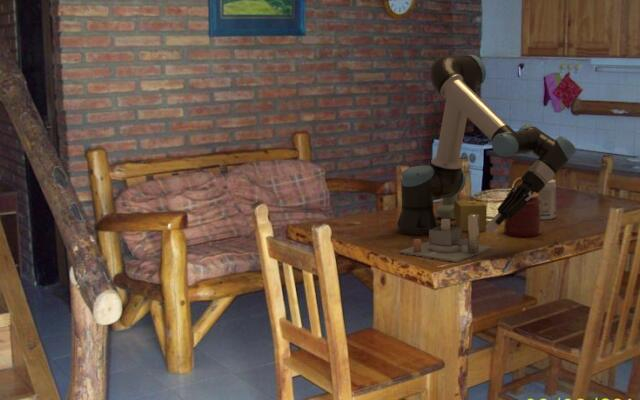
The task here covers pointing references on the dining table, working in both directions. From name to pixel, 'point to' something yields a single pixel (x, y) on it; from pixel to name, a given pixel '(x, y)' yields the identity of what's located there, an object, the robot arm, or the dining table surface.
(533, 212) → the canister
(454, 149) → the robot arm
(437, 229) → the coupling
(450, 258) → the square plate with uprights
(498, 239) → the dining table surface
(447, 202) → the air freshener
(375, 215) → the dining table surface
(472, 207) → the olive yellow box
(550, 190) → the supplement tub
